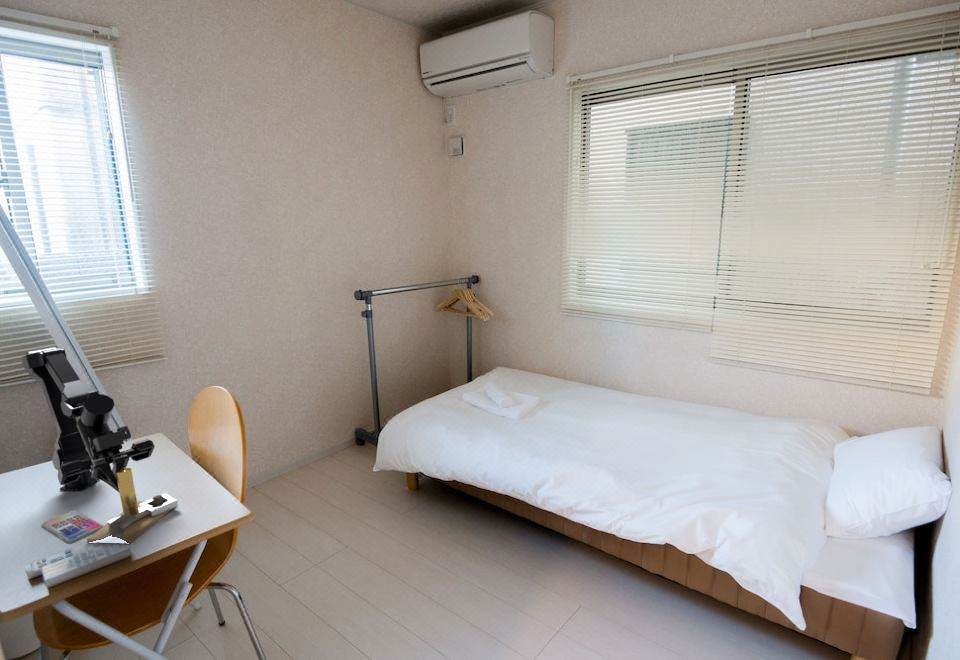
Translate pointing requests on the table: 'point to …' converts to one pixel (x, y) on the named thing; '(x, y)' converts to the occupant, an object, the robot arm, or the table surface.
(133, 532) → the keeper board
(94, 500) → the table surface
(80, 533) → the smartphone
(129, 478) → the link
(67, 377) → the robot arm
